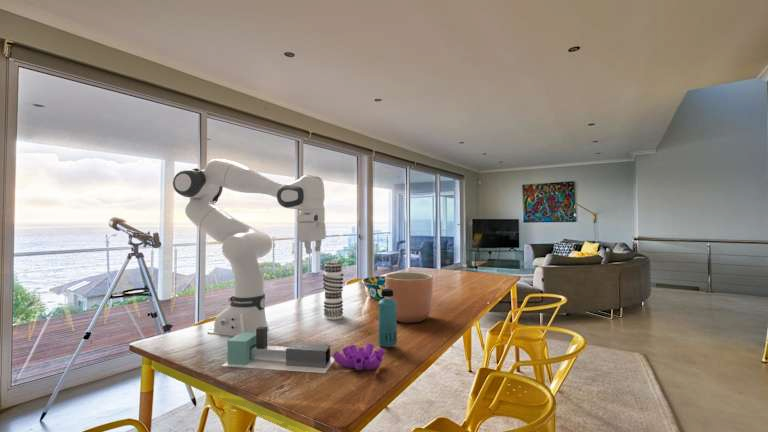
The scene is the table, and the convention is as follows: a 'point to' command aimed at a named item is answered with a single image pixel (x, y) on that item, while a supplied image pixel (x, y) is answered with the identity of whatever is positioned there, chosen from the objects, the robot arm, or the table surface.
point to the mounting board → (280, 365)
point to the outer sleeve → (308, 355)
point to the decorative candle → (333, 290)
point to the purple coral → (360, 357)
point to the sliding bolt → (266, 348)
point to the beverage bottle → (387, 319)
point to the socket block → (240, 348)
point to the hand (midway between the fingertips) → (313, 252)
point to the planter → (411, 295)
